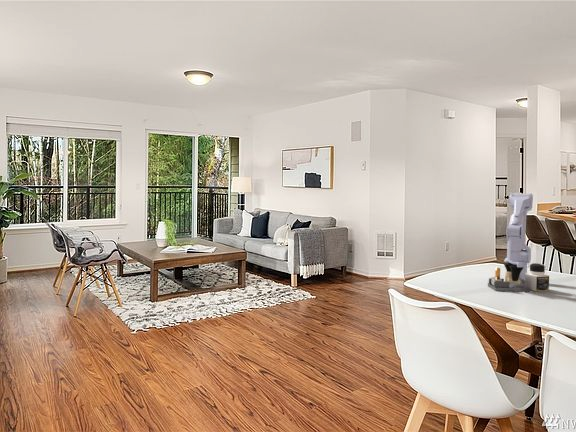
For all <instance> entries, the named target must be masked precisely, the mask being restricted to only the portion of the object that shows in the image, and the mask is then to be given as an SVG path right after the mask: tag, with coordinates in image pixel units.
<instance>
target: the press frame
mask: <svg viewBox="0 0 576 432" xmlns="http://www.w3.org/2000/svg"><path fill="white" fill-rule="evenodd" d="M501 279H502V281H494V285H492V284H491V277H489V278H488V282H487V287H488V288H490V289H492V290H494V291H495V292H522V293H523V292H525V293H526V292H529V291H530V290H529V288H528V281H526V280H524V279H522V278H520V284H510V282H505V278H501Z"/></svg>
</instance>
